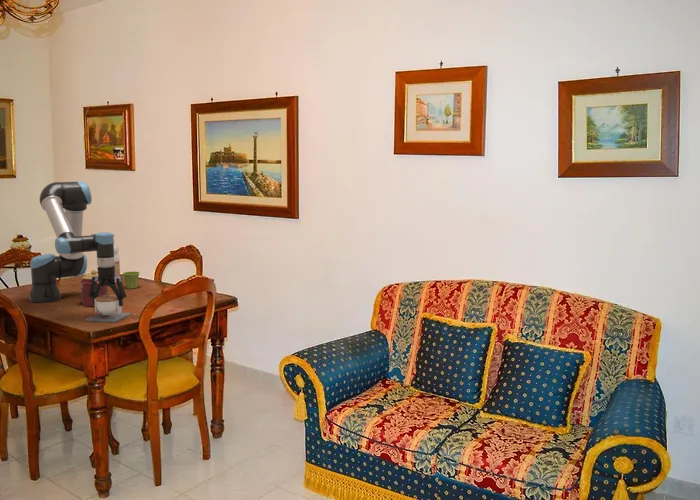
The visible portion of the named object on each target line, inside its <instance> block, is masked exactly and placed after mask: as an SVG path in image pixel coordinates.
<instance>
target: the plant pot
mask: <svg viewBox="0 0 700 500" xmlns="http://www.w3.org/2000/svg"><path fill="white" fill-rule="evenodd" d="M140 273H141V272H139V271H125V272H122V275H123V279H124V284H125V288H126V289H129V290H131V289H137V288H138V284H139V276H140Z"/></svg>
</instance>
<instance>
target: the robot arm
mask: <svg viewBox="0 0 700 500" xmlns="http://www.w3.org/2000/svg"><path fill="white" fill-rule="evenodd" d="M39 203H40V207H41V208H42V210H43V211H45V212H46V215H47V217H48V219H49V222H50V224H51V227H52V228H53V232H54V234H55V236H56V238H55V239H54V247H55V252H56V253H57V254H59V255H58V256H56V255H55V254H54V253H48V254H47V253H46V254H39V255H37V256H34V257H32V258H31V260H30V273H31V290H30V293H29V296H28V298H29V299H28V300H29V302H30V303H49V302H55V301H59V300H61V299H62V293H61V291H60V289H59V286H58V283H57V279H63V278H71V277H72V278H73V277H76V278H77V277H79V276H80V277H81V276H83V275H84V274H86V271H87V268H88V259H87V256H86V254H84V253H86V252H87V253H88V252H96V264H97V268H96V269H97V273H98V277H97V276H94V277H92V284H91V288H90V292H89V297H92V298H93V305H95V306H94V312H95V313H100V312H99V311H98V309H97V307H96V300H95V298H96V297H97V296H98V295H99V293H100V291H101V289H102V287H103V286H108V287H109V288H111V290H112V291H113V294H114V295H116V296H117V298H118V300H117V311H116V312H117V314H119V313H121V312H122V313H123V311H122V309H123V305H124V299H126V298H127V294H126V291H125V288H124V284H123V282H122V280H123V279H122V277H121V276H120V277H119V278H116V277H115V267H114V266H113V265H114V264H115V262H114V241H115V238H114V239H113V235H114V234H113V233H112V232H103V231H102V232H97V233H93V234H90V235H83V221H84V219H83V218H84V211H86V210H87V208H88V207H87V206H89V205H90V204H91V203H92V193H91V189H90V187H89V184H88V183H87V182H85V181H78V180H76V181H62V182H61V181H57V182H56V181H54V182H51V183H49V184H47V185H46V186H44V188H43V189H42V191H41V192H40V194H39ZM98 280H99V284H98V287H97V289H96V285H97V281H98ZM114 281H116V282H114ZM95 289H96V291H95Z"/></svg>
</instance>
